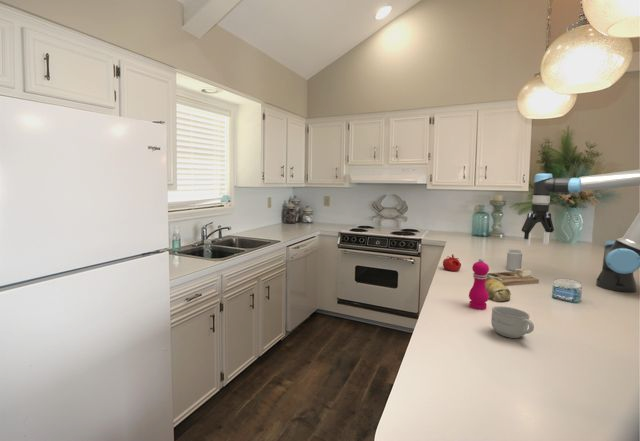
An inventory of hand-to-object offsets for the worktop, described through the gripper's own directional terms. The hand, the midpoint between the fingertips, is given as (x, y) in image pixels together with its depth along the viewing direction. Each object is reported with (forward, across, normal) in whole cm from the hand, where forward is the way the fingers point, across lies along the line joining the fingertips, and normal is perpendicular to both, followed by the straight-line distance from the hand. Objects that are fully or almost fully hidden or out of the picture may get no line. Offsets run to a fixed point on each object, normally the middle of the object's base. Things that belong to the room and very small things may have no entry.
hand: (536, 245), depth 177 cm
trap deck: (+19, +14, -4) cm, 24 cm away
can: (+19, -10, -20) cm, 29 cm away
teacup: (+19, +70, +48) cm, 86 cm away
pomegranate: (+20, +27, -30) cm, 45 cm away
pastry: (+19, +42, +15) cm, 49 cm away
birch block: (+17, +7, 0) cm, 18 cm away
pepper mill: (+19, +60, +23) cm, 67 cm away
